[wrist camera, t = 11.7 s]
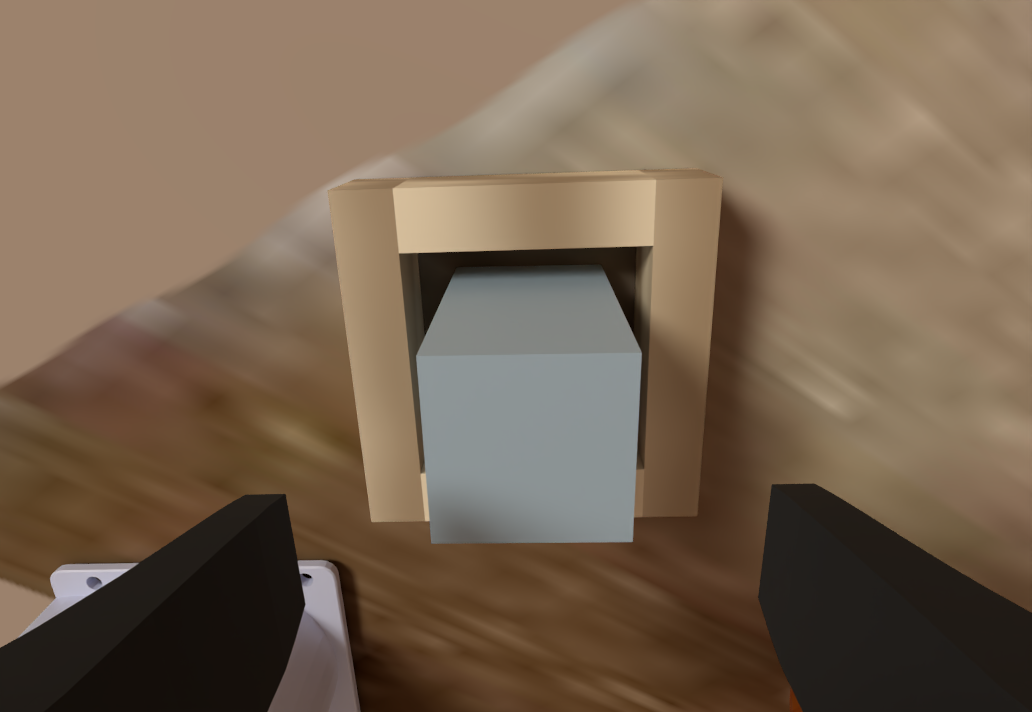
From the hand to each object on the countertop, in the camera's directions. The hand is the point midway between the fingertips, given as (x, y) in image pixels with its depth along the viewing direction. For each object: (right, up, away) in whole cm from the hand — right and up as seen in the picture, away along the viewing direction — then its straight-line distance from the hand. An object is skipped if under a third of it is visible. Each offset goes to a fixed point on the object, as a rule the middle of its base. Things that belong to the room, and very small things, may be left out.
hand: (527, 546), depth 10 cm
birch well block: (0, +3, +9) cm, 10 cm away
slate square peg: (0, +3, +9) cm, 10 cm away
